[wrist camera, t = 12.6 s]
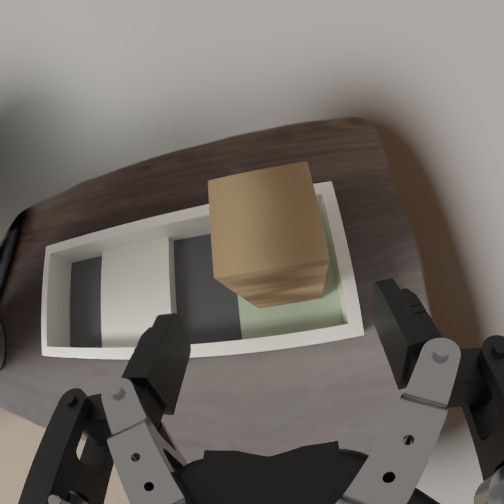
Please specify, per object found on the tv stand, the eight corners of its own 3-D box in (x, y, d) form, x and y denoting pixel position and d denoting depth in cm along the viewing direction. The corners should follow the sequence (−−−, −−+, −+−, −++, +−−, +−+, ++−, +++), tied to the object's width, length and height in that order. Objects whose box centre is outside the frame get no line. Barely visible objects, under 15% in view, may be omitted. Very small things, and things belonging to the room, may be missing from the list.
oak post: (257, 308, 23) (213, 278, 13) (251, 248, 25) (207, 180, 14) (320, 298, 22) (329, 259, 12) (310, 238, 24) (307, 161, 14)
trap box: (67, 357, 27) (42, 355, 23) (68, 256, 31) (46, 246, 27) (355, 336, 22) (364, 335, 18) (329, 203, 26) (331, 181, 22)
